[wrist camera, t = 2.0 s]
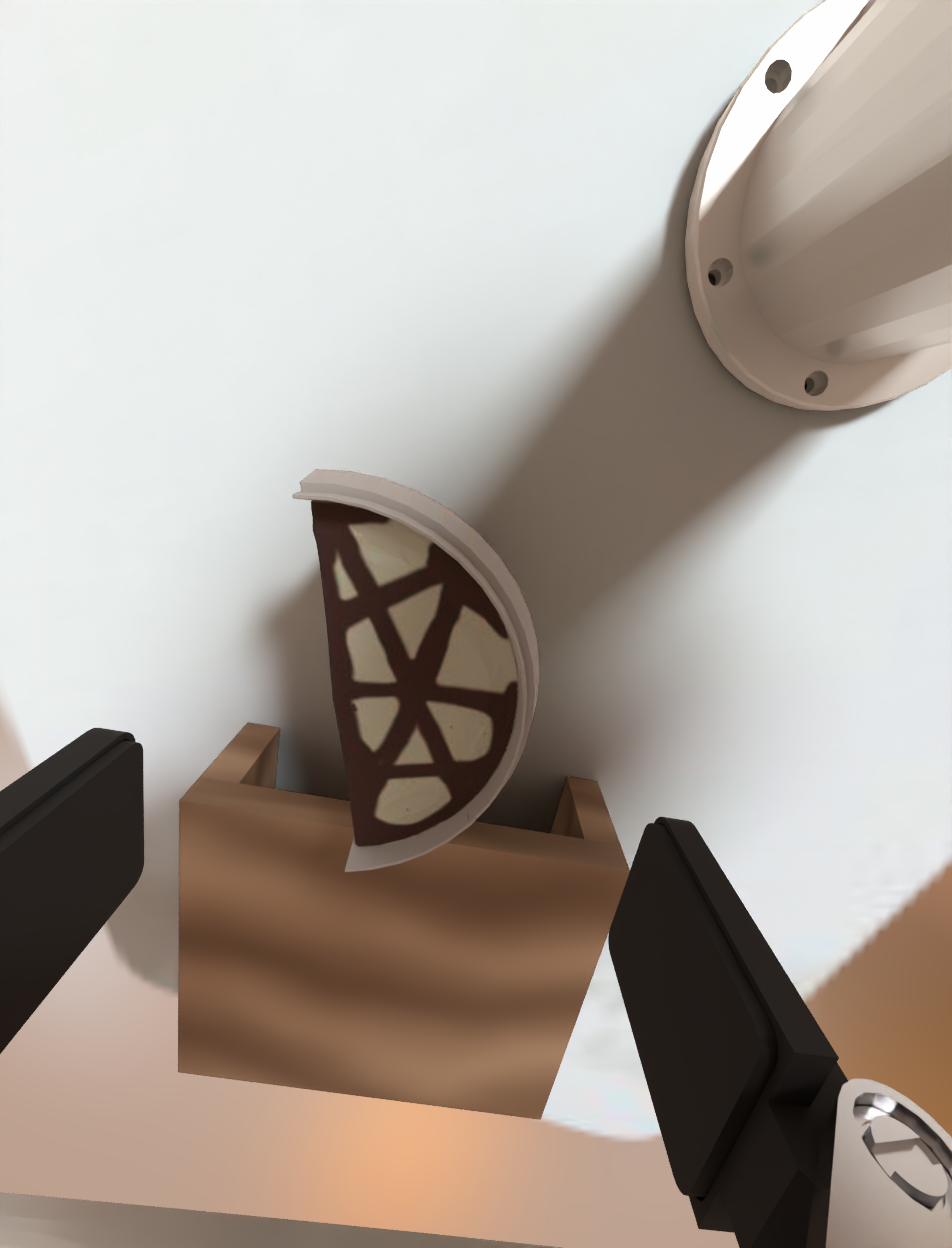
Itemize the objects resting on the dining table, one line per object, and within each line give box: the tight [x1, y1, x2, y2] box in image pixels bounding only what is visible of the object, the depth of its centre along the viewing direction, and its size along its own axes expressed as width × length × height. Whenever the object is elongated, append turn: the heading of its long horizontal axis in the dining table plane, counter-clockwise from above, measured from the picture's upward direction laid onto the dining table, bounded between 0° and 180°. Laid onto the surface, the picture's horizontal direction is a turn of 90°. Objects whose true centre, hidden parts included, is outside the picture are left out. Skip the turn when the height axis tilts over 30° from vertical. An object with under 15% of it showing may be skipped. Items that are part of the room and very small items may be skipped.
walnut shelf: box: [178, 723, 630, 1119], centre depth 25 cm, size 16×18×6 cm
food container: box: [292, 469, 540, 872], centre depth 18 cm, size 12×6×10 cm, turn 2°
